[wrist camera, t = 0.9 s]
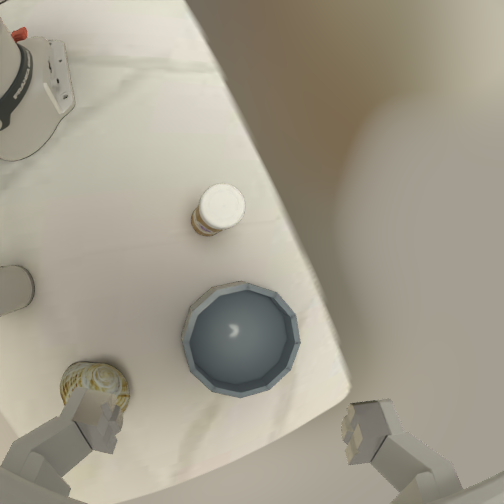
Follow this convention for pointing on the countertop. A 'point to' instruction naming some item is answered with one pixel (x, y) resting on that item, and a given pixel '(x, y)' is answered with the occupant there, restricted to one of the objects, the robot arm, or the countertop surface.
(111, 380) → the seashell
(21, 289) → the travel mug
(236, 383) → the slate bowl
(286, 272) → the countertop surface
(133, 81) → the countertop surface
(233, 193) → the sprinkles bottle
